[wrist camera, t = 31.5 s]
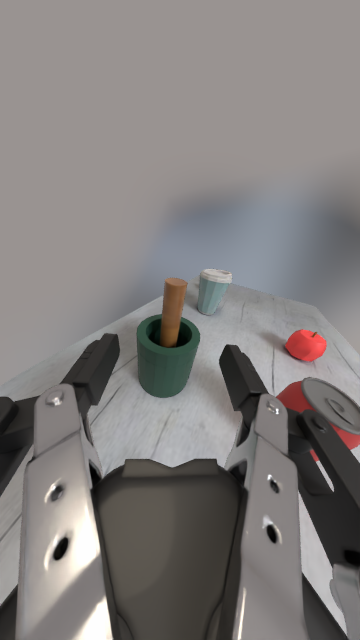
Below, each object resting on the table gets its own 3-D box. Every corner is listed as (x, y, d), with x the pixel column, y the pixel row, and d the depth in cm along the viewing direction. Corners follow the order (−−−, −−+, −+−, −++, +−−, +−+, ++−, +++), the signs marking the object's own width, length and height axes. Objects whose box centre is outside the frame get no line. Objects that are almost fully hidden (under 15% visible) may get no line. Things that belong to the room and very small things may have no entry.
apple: (282, 356, 37) (301, 334, 32) (279, 340, 43) (295, 319, 38) (317, 371, 34) (343, 348, 30) (309, 351, 40) (329, 330, 36)
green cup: (129, 390, 24) (124, 346, 17) (148, 350, 32) (149, 309, 26) (184, 403, 23) (199, 362, 17) (189, 359, 31) (200, 320, 25)
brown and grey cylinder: (150, 377, 25) (153, 283, 15) (157, 358, 29) (163, 273, 19) (173, 382, 25) (192, 291, 15) (177, 363, 29) (194, 279, 19)
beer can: (267, 472, 18) (342, 445, 11) (243, 414, 23) (283, 372, 16) (309, 467, 19) (401, 439, 12) (277, 413, 24) (328, 373, 17)
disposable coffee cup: (191, 314, 48) (200, 271, 39) (193, 301, 57) (201, 264, 48) (220, 320, 47) (237, 278, 39) (218, 306, 56) (231, 270, 48)
